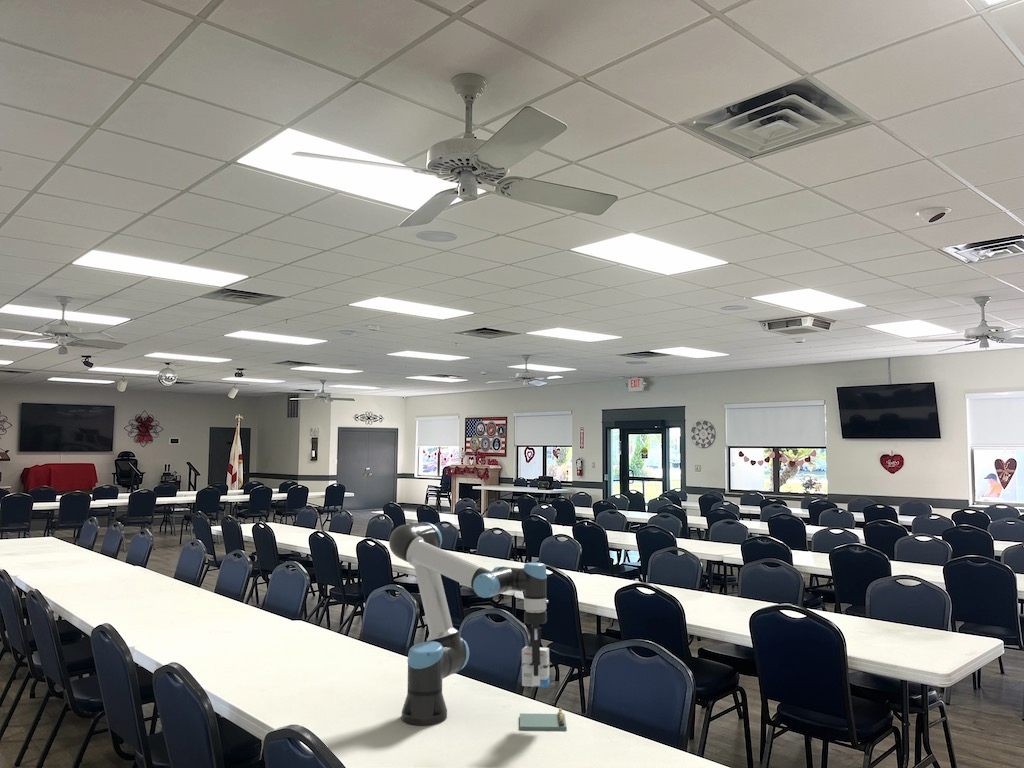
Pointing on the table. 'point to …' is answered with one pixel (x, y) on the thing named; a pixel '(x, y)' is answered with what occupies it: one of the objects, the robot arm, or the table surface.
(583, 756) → the table surface
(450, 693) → the table surface
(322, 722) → the table surface
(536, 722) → the header board
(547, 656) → the ink box
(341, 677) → the table surface
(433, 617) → the robot arm
